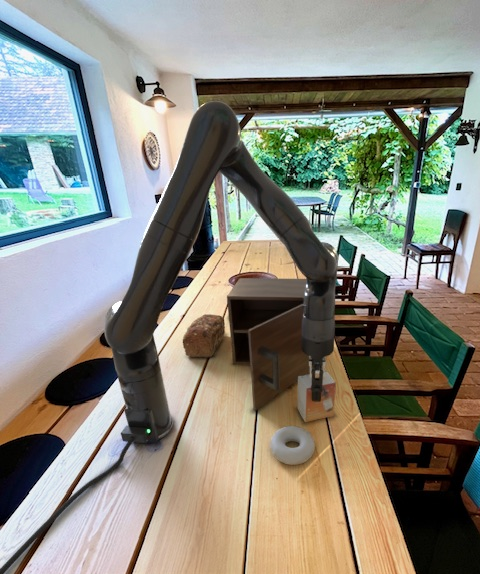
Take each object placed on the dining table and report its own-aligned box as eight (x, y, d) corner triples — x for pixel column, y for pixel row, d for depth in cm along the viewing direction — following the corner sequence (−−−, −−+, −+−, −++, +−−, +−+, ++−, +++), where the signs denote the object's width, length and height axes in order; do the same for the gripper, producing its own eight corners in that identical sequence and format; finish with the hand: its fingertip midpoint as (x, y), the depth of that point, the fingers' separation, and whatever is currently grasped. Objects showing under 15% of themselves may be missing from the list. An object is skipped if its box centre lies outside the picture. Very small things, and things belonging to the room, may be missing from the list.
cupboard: (312, 368, 103) (314, 297, 93) (233, 364, 106) (226, 296, 96) (313, 341, 119) (314, 278, 109) (244, 338, 122) (239, 278, 113)
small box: (304, 423, 80) (305, 388, 76) (297, 409, 85) (297, 375, 81) (334, 416, 82) (336, 382, 78) (324, 402, 87) (326, 370, 83)
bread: (212, 359, 110) (209, 332, 106) (183, 357, 111) (179, 331, 107) (227, 334, 127) (224, 310, 122) (201, 333, 128) (197, 310, 124)
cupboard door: (329, 375, 98) (332, 303, 88) (271, 421, 81) (268, 338, 71) (311, 368, 102) (313, 298, 92) (253, 409, 85) (247, 329, 75)
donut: (323, 447, 73) (287, 427, 79) (323, 435, 72) (287, 416, 78) (298, 477, 66) (261, 453, 72) (298, 465, 65) (260, 441, 71)
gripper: (302, 319, 81) (302, 374, 88) (300, 347, 68) (300, 409, 75) (333, 319, 80) (330, 375, 87) (336, 348, 67) (332, 411, 74)
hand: (316, 390), depth 81 cm, fingers closed on small box, 7 cm apart
